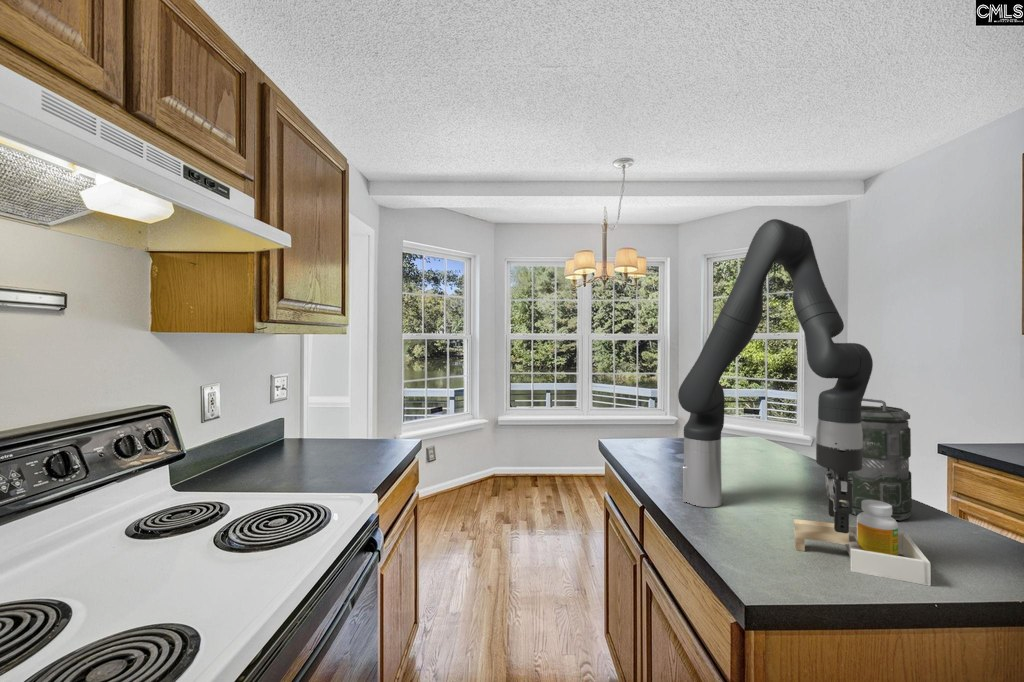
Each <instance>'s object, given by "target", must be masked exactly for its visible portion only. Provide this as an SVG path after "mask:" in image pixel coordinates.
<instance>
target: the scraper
mask: <svg viewBox="0 0 1024 682" xmlns="http://www.w3.org/2000/svg"><path fill="white" fill-rule="evenodd" d="M793 532H794V533H793V534H794V546H795V550H796V551H800V552H806V548H805V547H806V546H805V540H811V541H818V542H825V543H826V542H827V543H835V544H840V543H841V544H840V545H842V544H845V545H844V548H845V549H846V552H847V554H848V556H849V558H850V559H851V548H852V549H858V550H861V548H860V546H859V544H858V542H857V540H856V538H855V537H854V535H853V533H852V532H848V533H840V532H836V531H835V529H834V522H833V523H832V522H824V521H814V520H806V519H796V518H793Z"/></svg>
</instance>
